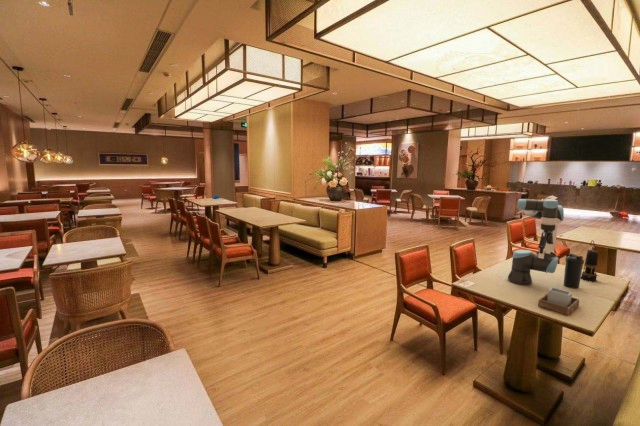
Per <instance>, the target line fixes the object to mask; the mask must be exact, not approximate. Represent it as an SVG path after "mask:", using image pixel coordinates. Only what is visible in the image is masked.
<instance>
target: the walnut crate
mask: <svg viewBox="0 0 640 426" xmlns="http://www.w3.org/2000/svg"><path fill="white" fill-rule="evenodd" d="M547 297H548V292H547V293H546V294H544V295H543V296H542V297H540V298H539V299H538V301H537V302H538V304H537V307H538V308H542V309H545V310H548V311H551V312H554V313H558V314H561V315H564V316H568V317H569V316H570V315H571V314H572V313H573V312H574V311H575V310H576V309H577V308H578V307H579V305H580V299H579V298H576V297H573V296H572V298H571V305H570V306H569V307H568V308H567V307H564V306H561V305H557V304H554V303H551V302H547Z"/></svg>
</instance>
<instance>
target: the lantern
mask: <svg viewBox="0 0 640 426" xmlns="http://www.w3.org/2000/svg"><path fill="white" fill-rule="evenodd" d="M592 243H593V245H592ZM590 246H591V247H592V248H591V249H586V251H587V252H586V257H585V260H584V264H583V266H584V267H583V269H582V273H581V278H580V280H582V279H583V280H582V281H585V280H586V281H585V282H589V281H592V282H591V283H596V282H597V277H599V275H598V274H597V269H598V263H599V253H600V251H598V250H596V249H595V248H594V247H595V241H594V240H591V241H590ZM595 281H596V282H595Z"/></svg>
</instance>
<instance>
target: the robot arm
mask: <svg viewBox="0 0 640 426" xmlns="http://www.w3.org/2000/svg"><path fill="white" fill-rule="evenodd" d="M517 210H521V211H522V212H523V213H524V215H525V216H528V217H530V218H531V219H532V218H533V219H535V220H536V219H537V220H541V221H540V222H541V223H540V229H541V236H540V239H539V244H538V247H537V248H538V250H537V251H536V253H534V252H533V251H532V250H528V249H519V250H518V249H517V250H515V251H514V252H513V253H512V258H511V259H512V263H511V270H510V272H509V274H508V276H507V280H508V281H509V282H511V283H513V284H516V285H521V286H529V285H532V283H533V278H532V275H531V271H536V272H543V273H546V274H547V273H549V274H554V273H555V272H556V269H557V267H558V262H559V257H558V256H557V253H556V252H555V248H556V240H557V233H558V225H560V224H561V222H563V221H564V217H565V216H564V215H565V213H564V207H563V205H560V204H559V200H557V199H551V198H549V199H528V198H527V199H526V198H519V199H518V200H517Z"/></svg>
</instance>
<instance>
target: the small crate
mask: <svg viewBox="0 0 640 426" xmlns="http://www.w3.org/2000/svg"><path fill="white" fill-rule="evenodd" d="M547 293H548V297H547V302H551V303H554V304H557V305H561V306H564V307H567V308H568V307H569V306H570V305H571V298H572V297H573V292H572V291H568V290H564V289H561V288H557V287H553V286H552V287H550V288H549V289H548V291H547Z"/></svg>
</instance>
